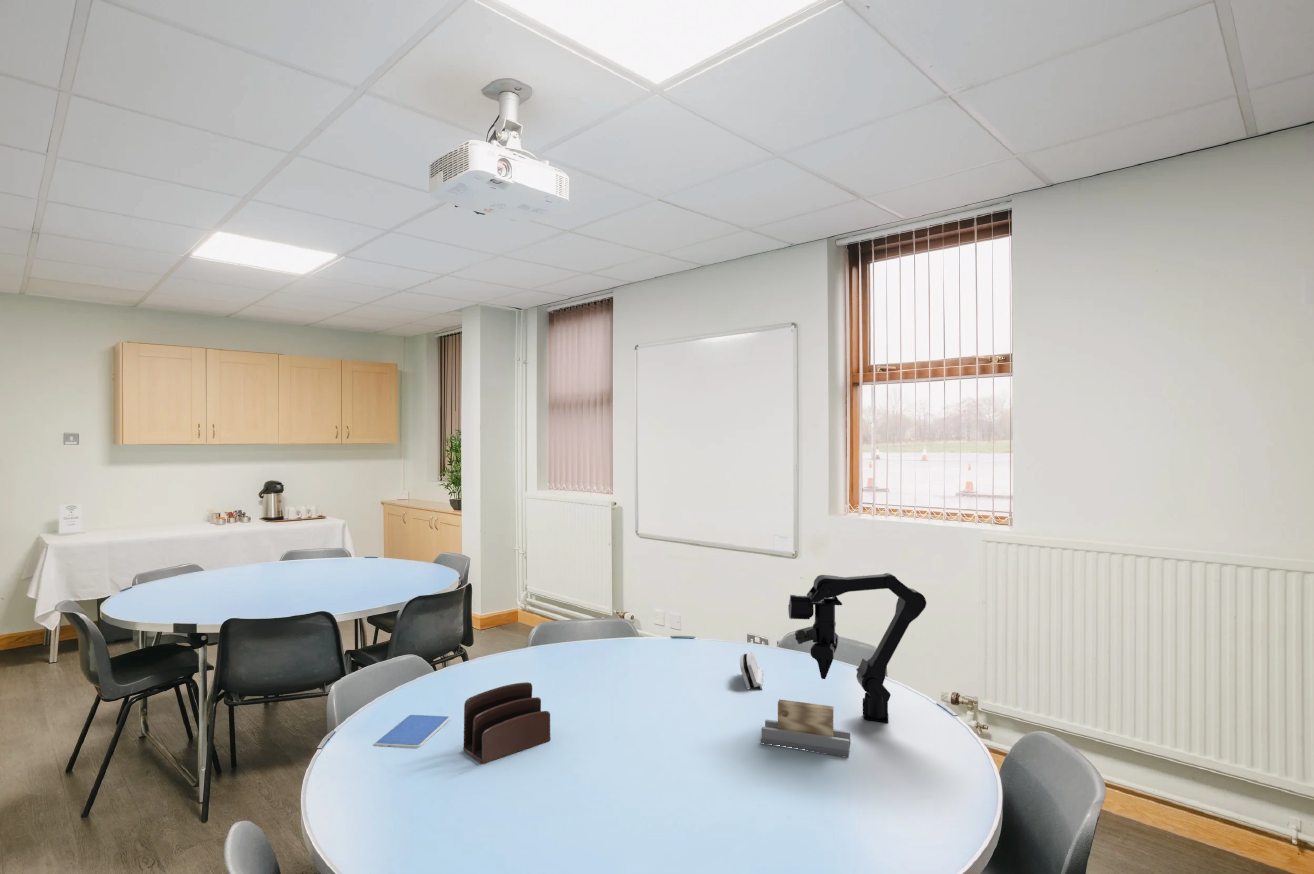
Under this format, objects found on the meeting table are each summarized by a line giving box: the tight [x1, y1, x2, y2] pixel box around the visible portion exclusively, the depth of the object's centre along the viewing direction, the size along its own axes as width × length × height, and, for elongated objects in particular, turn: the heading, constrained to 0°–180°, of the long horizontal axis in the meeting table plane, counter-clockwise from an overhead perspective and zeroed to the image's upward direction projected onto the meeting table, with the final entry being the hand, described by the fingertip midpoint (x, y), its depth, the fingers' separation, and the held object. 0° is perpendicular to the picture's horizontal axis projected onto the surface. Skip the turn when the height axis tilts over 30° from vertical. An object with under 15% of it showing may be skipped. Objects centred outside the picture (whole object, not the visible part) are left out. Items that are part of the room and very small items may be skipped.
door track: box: [760, 719, 852, 758], centre depth 170 cm, size 22×9×4 cm, turn 70°
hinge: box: [739, 651, 765, 690], centre depth 219 cm, size 17×5×10 cm, turn 169°
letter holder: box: [462, 681, 552, 765], centre depth 167 cm, size 10×20×14 cm, turn 134°
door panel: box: [777, 698, 834, 737], centre depth 170 cm, size 14×3×9 cm, turn 70°
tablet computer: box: [374, 714, 451, 749], centre depth 176 cm, size 19×13×1 cm, turn 174°
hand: (824, 673), depth 189 cm, fingers open, 9 cm apart
